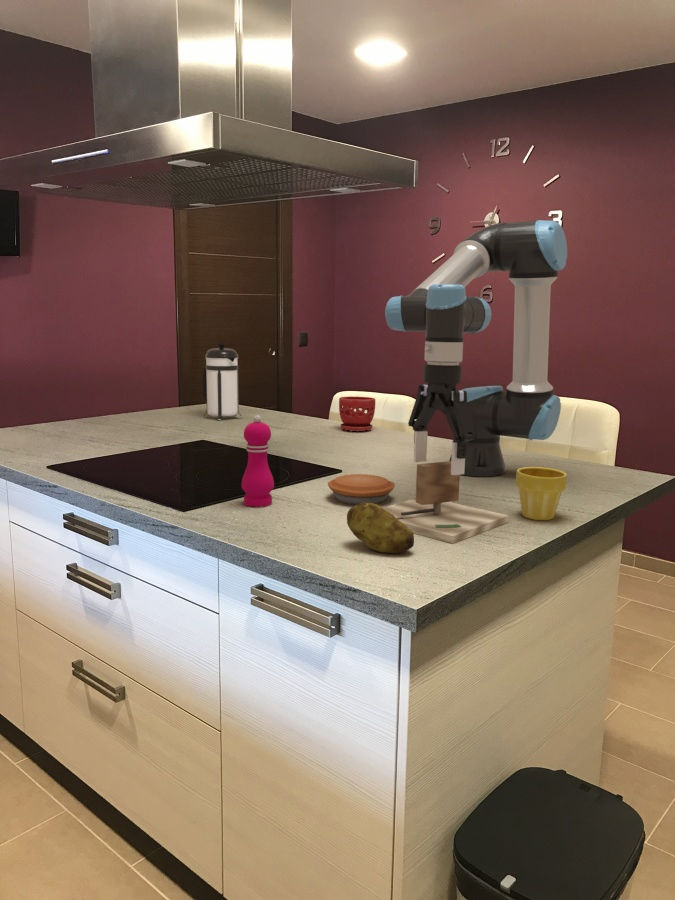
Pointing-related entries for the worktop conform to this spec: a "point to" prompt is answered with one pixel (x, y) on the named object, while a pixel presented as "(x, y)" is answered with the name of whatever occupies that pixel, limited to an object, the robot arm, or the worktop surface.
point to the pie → (361, 488)
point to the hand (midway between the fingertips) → (437, 467)
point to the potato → (379, 528)
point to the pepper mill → (257, 465)
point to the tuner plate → (447, 520)
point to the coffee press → (221, 382)
